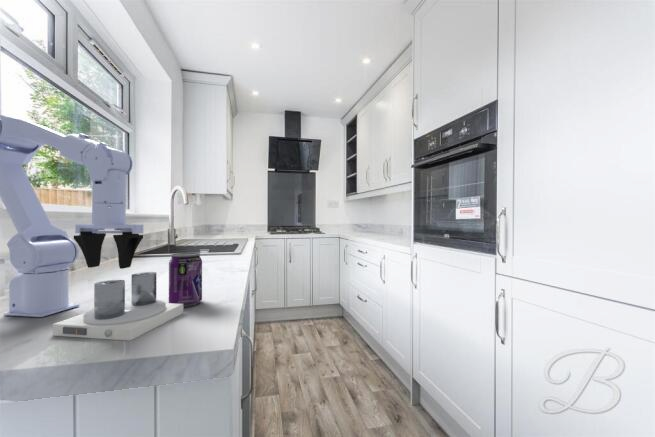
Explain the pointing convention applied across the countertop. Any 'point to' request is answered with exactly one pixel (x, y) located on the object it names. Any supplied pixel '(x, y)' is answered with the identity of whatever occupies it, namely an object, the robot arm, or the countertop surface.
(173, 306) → the kitchen scale
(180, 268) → the beverage can
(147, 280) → the steel spacer
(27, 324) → the countertop surface
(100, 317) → the steel spacer
